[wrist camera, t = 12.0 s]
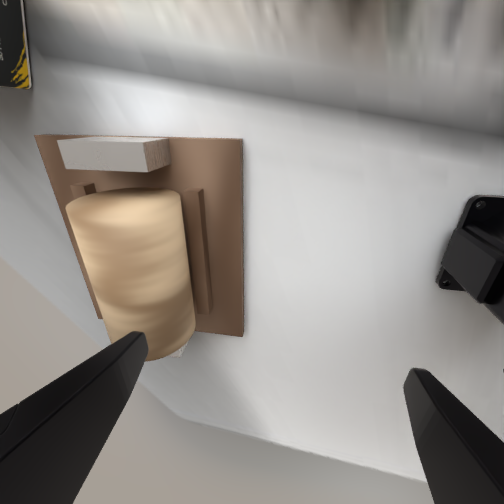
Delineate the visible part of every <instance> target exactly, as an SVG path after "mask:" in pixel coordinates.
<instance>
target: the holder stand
mask: <svg viewBox="0 0 504 504" xmlns="http://www.w3.org/2000/svg"><path fill="white" fill-rule="evenodd" d="M34 137H35V140H36V142H37V145H38V148H39V151H40V154H41V157H42V160H43V162H44V165H45V168H46V171H47V174H48V177H49V179H50V182H51V185H52V188H53V191H54V194H55V197H56V199H57V202H58V205H59V208H60V211H61V214H62V216H63V219H64V222H65V225H66V228H67V231H68V233H69V236H70V239H71V242H72V245H73V248H74V251H75V253H76V256H77V259H78V262H79V265H80V268H81V270H82V273H83V276H84V279H85V282H86V285H87V288H88V290H89V293H90V296H91V299H92V302H93V305H94V307H95V310H96V313H97V316H98V319H103V317H102V314H101V311H100V309H99V306H98V303H97V300H96V297H95V294H94V291H93V288H92V285H91V282H90V279H89V276H88V273H87V270H86V268H85V265H84V262H83V259H82V256H81V253H80V250H79V247H78V244H77V241H76V238H75V235H74V232H73V229H72V226H71V224H70V221H69V218H68V215H67V212H66V206H67V204H68V203H70V202H71V201H73V200H75V199H77V198H80V197H83V196H86V195H89V194H93V193H97V192H102V191H107V190H114V189H122V188H136V187H151V188H163V189H169V190H172V191H175V192H177V193H178V194H179V195H180V200H181V208H182V216H183V224H184V232H185V240H186V248H187V256H188V264H189V272H190V280H191V289H192V297H193V305H194V313H195V321H196V326H195V330H194V331H199V332H207V333H215V334H223V335H231V336H239V337H242V336H243V332H244V269H243V152H242V139H233V138H186V137H139V136H92V135H34ZM188 341H189V340H188ZM187 343H188V342H187ZM187 343H186V344H185V345H184V346H182V347H181V348H180V349H178V350H177V351H175V352H174V353H172V354H170V355H168V356H171V357H178V358H180V357H181V355H182V353H183V351H184V349H185V347H186V345H187Z"/></svg>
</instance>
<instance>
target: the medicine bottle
mask: <svg viewBox="0 0 504 504" xmlns="http://www.w3.org/2000/svg"><path fill="white" fill-rule="evenodd" d="M0 87H10V88H20V89H29V88H31V75H30V66H29V56H28V46H27V37H26V27H25V18H24V8H23V0H0Z"/></svg>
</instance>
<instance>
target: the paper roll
mask: <svg viewBox="0 0 504 504" xmlns="http://www.w3.org/2000/svg"><path fill="white" fill-rule="evenodd" d="M66 212H67V215H68V218H69V221H70V224H71V226H72V229H73V232H74V235H75V238H76V241H77V244H78V247H79V250H80V253H81V256H82V259H83V262H84V265H85V268H86V270H87V273H88V276H89V279H90V282H91V285H92V288H93V291H94V294H95V297H96V300H97V303H98V306H99V309H100V311H101V314H102V317H103V320H104V323H105V326H106V329H107V332H108V335H109V338H110V341H111V344H113V343H114V342H116V341H117V340H119V339H120V338H122V337H124V336H125V335H127V334H128V333H130V332H132V331H139V332H144V333H145V335H146V339H147V343H148V347H149V351H148V355H147V358H146V360H145V361H152V360H156V359H160V358H163V357H166V356H168V355H170V354H172V353H174V352H175V351H177V350H178V349H180V348H181V347H182V346H184V345H185V344H186V343H187V342H188V340H189V339H190V338H191V336H192V335H193V333H194V330H195V326H196V321H195V313H194V305H193V297H192V289H191V280H190V272H189V264H188V256H187V248H186V240H185V232H184V224H183V216H182V208H181V200H180V195H179V194H178V193H177V192H175V191H172V190H169V189H163V188H151V187H136V188H122V189H114V190H107V191H102V192H97V193H93V194H89V195H86V196H83V197H80V198H77V199H75V200H73V201H71V202H70V203H68V204H67V206H66Z"/></svg>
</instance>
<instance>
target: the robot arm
mask: <svg viewBox="0 0 504 504" xmlns="http://www.w3.org/2000/svg"><path fill="white" fill-rule="evenodd" d="M480 201H482V203H481V205H480V206H478V207H476V204H477V203H478V202H480ZM441 265H442V266H441V269H440V271H439V274H438V276H437V279H436V283H437V285H438V286H439V287H440V288H441V289H447V290H458V291H467V292H468V293H469V294H470V295H471V296H472V297H473V299H474V300H475V301H476V302H477V303H479V304H484V305H485V306H486V307H487V308H488V309H489V310H490V311H491V312H492V313H493V314H494V315H495V316H496V317H497V318H498V319H499V320H500V321H501V322H502V323H503V325H504V196H493V195H476V196H474V197H472V198H471V199H470V200H469V201H468V203H467V205H466V207H465V210H464V212H463V215H462V217H461V220H460V222H459V225H458V227H457V229H456V230H455V231H454V232H453V235H452V237H451V240H450V242H449V245H448V247H447V250H446V252H445V255H444V257H443V259H442V262H441ZM446 280H448V281H447V282H446V283H443V282H444V281H446ZM148 351H149V347H148V343H147V339H146V335H145V333H144V332H139V331H132V332H130V333H128V334H127V335H125V336H124V337H122V338H120V339H119V340H117V341H116V342H114V343H113V344H111V345H109V346H108V347H106V348H105V349H103V350H101V351H100V352H98V353H97V354H95V355H94V356H92V357H90V358H89V359H87V360H86V361H84V362H83V363H81V364H79V365H78V366H76V367H75V368H73V369H71V370H70V371H68V372H67V373H65V374H64V375H62V376H60V377H59V378H57V379H56V380H54V381H53V382H51V383H50V384H48V385H46V386H45V387H43V388H41V389H40V390H39V391H37V392H35V393H33V394H32V395H30V396H29V397H27V398H26V399H24V400H22V401H21V402H20V403H19V404H16V405H14V406H13V407H11V408H10V409H8V410H6V411H5V412H3V413H2V414H0V504H73V502H74V500H75V498H76V496H77V494H78V493H79V491H80V489H81V487H82V485H83V483H84V481H85V479H86V478H87V476H88V474H89V472H90V470H91V468H92V466H93V465H94V463H95V461H96V459H97V457H98V455H99V453H100V451H101V450H102V448H103V446H104V444H105V442H106V440H107V439H108V437H109V435H110V433H111V431H112V429H113V427H114V426H115V424H116V422H117V420H118V418H119V416H120V414H121V412H122V411H123V409H124V407H125V405H126V403H127V401H128V399H129V397H130V395H131V393H132V391H133V389H134V386H135V384H136V381H137V379H138V377H139V374H140V372H141V369H142V367H143V365H144V362H145V360H146V358H147V355H148ZM503 371H504V369H503ZM403 389H404V395H405V400H406V404H407V409H408V413H409V418H410V422H411V427H412V431H413V436H414V440H415V444H416V448H417V451H418V454H419V457H420V460H421V463H422V467H423V470H424V473H425V476H426V479H427V482H428V485H429V488H430V491H431V494H432V497H433V500H434V503H435V504H504V442H503V441H502V440H500V439H499V438H498V437H497V436H496V435H495V434H494V433H493V432H492V431H491V430H490V429H489V428H488V427H487V426H486V425H485V424H484V423H483V422H482V421H480V420H479V419H478V418H477V417H476V416H475V415H474V414H473V413H472V412H471V411H470V410H469V409H468V408H467V407H466V406H465V405H464V404H463V403H462V402H460V401H459V400H458V399H457V398H456V397H455V396H454V395H453V394H452V393H451V392H450V391H449V390H448V389H447V388H446V387H445V386H444V385H443V384H442V383H440V382H439V381H438V380H437V379H436V378H435V377H434V376H433V375H432V374H431V373H430V372H429V371H427V370H426V369H420V368H411V369H410V371H409V373H408V376H407V378H406V380H405V382H404V387H403Z"/></svg>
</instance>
